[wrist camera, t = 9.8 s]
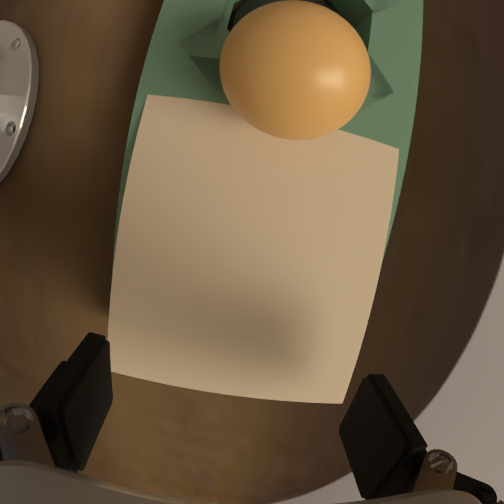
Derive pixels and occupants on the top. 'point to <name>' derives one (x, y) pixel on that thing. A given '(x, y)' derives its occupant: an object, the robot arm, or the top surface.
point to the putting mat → (255, 216)
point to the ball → (295, 70)
